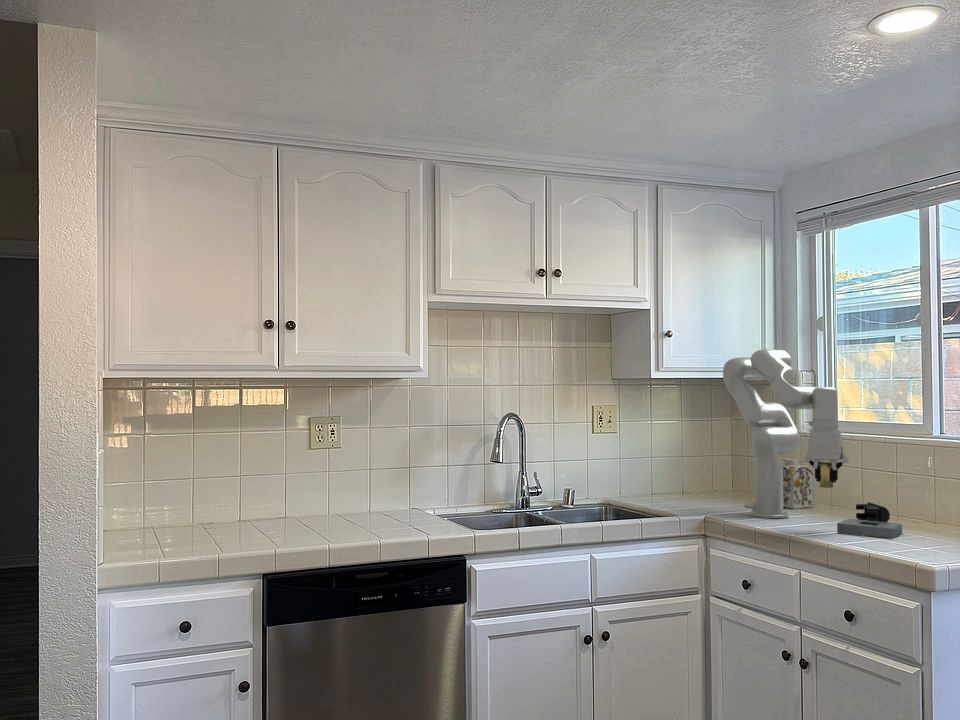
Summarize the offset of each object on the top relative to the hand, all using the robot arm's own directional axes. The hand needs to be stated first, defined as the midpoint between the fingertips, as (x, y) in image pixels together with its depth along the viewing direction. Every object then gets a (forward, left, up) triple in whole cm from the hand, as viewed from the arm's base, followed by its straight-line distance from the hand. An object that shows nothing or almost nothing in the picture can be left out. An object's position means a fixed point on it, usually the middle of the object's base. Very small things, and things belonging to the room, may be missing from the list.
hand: (826, 481), depth 272 cm
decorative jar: (-26, +43, -16) cm, 53 cm away
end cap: (+9, +19, -16) cm, 26 cm away
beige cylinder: (0, 0, -2) cm, 2 cm away
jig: (+13, 0, -15) cm, 20 cm away
